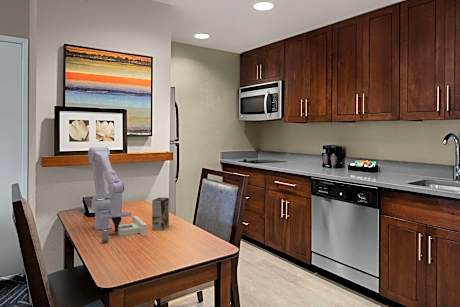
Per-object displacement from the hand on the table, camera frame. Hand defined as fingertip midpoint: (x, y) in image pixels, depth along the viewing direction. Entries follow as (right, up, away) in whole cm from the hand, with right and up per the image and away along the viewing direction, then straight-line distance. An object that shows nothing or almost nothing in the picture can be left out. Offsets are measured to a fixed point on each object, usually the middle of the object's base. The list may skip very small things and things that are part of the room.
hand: (116, 231), depth 169 cm
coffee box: (+20, -1, +12) cm, 24 cm away
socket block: (+5, -1, +3) cm, 6 cm away
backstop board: (+11, -1, +5) cm, 12 cm away
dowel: (-1, -2, -13) cm, 13 cm away
